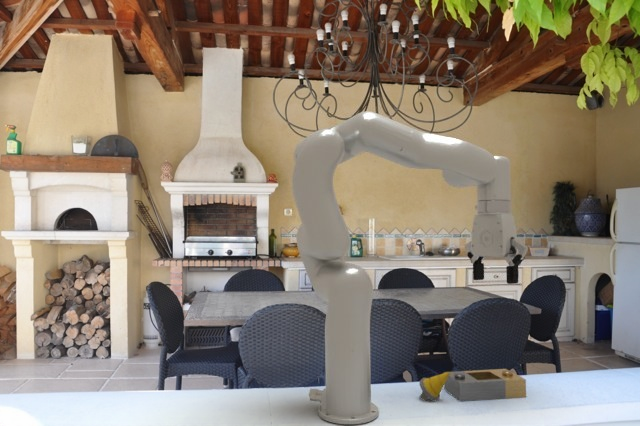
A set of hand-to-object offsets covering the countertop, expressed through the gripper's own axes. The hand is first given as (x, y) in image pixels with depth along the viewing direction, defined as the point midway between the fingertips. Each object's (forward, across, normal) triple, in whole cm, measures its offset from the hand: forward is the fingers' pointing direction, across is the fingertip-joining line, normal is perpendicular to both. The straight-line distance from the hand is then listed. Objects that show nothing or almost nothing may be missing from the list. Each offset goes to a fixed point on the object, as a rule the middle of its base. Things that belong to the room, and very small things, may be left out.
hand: (494, 281), depth 119 cm
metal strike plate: (+26, -2, -2) cm, 26 cm away
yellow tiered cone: (+27, -6, -14) cm, 31 cm away
